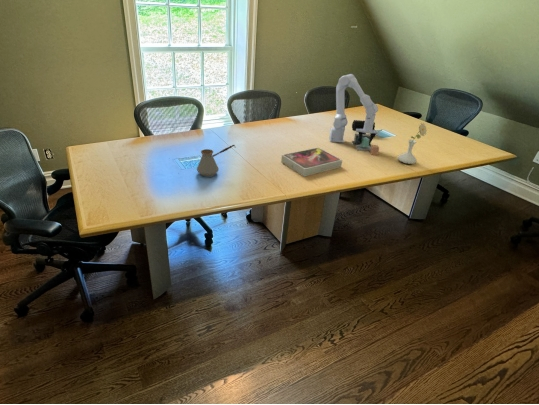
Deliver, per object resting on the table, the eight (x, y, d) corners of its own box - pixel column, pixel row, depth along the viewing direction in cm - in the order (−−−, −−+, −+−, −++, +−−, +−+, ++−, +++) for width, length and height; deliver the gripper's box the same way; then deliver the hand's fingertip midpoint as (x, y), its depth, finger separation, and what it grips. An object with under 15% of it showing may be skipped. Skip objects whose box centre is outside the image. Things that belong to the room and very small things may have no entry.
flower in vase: (404, 166, 207) (415, 126, 194) (393, 158, 216) (403, 120, 203) (422, 164, 211) (434, 125, 198) (410, 157, 220) (421, 119, 207)
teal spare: (363, 147, 225) (365, 140, 223) (359, 144, 228) (361, 137, 226) (368, 146, 227) (370, 139, 224) (364, 144, 230) (366, 137, 227)
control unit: (353, 144, 234) (354, 135, 231) (351, 141, 238) (353, 133, 235) (370, 145, 234) (372, 136, 231) (368, 143, 238) (370, 134, 235)
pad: (357, 150, 225) (357, 149, 225) (355, 145, 232) (355, 144, 232) (372, 151, 225) (372, 150, 225) (369, 146, 232) (369, 145, 232)
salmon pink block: (371, 154, 220) (373, 147, 218) (370, 152, 224) (371, 145, 221) (377, 154, 220) (379, 147, 218) (376, 152, 224) (377, 145, 221)
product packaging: (281, 162, 202) (281, 154, 199) (317, 154, 216) (318, 147, 213) (303, 177, 187) (304, 169, 184) (340, 167, 201) (342, 160, 198)
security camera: (376, 137, 250) (379, 123, 245) (351, 135, 250) (354, 122, 245) (374, 133, 256) (377, 121, 251) (350, 132, 256) (352, 119, 251)
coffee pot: (200, 179, 176) (198, 153, 168) (194, 170, 185) (193, 144, 177) (238, 174, 184) (239, 148, 177) (231, 165, 193) (231, 140, 185)
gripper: (379, 123, 223) (374, 142, 230) (357, 120, 224) (353, 140, 231) (380, 126, 217) (376, 146, 224) (357, 124, 218) (354, 144, 225)
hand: (364, 143), depth 227 cm, fingers closed on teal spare, 5 cm apart
